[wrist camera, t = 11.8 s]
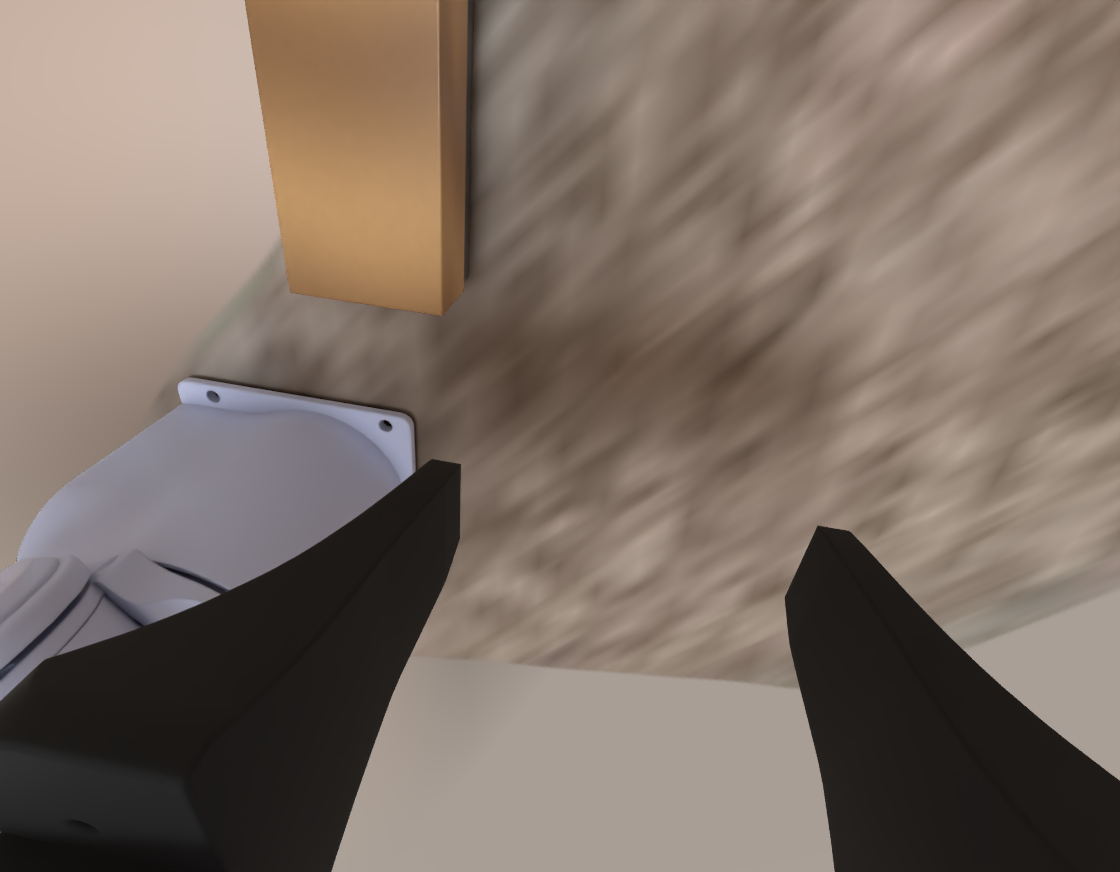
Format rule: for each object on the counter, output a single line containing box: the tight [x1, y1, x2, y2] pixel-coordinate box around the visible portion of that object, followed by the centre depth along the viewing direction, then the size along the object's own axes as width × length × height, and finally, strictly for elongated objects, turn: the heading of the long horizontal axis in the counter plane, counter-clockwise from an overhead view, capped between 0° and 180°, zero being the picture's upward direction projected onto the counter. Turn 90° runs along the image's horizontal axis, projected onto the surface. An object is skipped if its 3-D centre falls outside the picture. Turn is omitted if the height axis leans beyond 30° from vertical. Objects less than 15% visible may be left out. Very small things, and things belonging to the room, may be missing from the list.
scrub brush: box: [245, 0, 473, 316], centre depth 15 cm, size 11×4×4 cm, turn 174°
